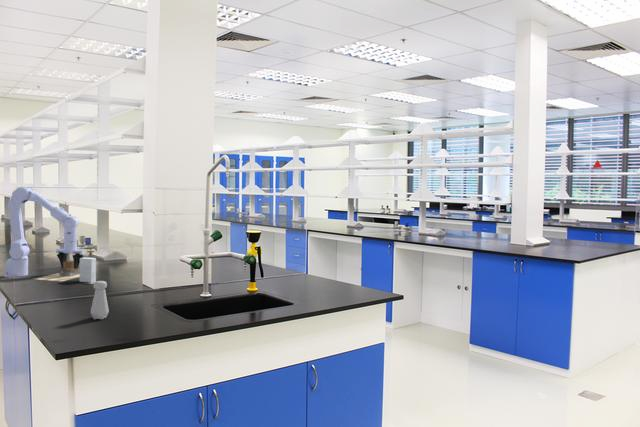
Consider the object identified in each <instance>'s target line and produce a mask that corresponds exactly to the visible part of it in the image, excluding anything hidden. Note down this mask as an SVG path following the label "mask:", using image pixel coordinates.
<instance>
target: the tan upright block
mask: <svg viewBox="0 0 640 427" xmlns="http://www.w3.org/2000/svg"><path fill="white" fill-rule="evenodd" d="M62 271H67V272H71V271H75V269H74V260H66V261H64V262H63V268H62Z"/></svg>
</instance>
